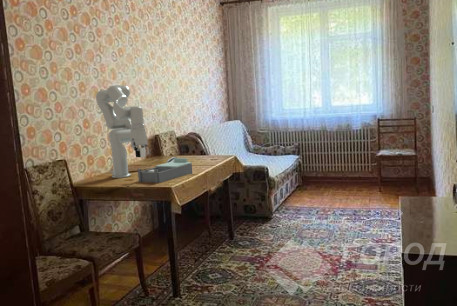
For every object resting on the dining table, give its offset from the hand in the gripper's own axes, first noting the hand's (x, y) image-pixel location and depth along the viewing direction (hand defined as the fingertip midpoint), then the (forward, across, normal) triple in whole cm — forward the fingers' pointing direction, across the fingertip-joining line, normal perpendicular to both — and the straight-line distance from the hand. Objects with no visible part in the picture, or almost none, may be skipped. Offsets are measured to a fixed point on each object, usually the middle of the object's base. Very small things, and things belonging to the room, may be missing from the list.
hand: (140, 156), depth 266 cm
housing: (+16, -12, +8) cm, 21 cm away
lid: (+9, -21, +8) cm, 24 cm away
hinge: (+16, -40, -10) cm, 44 cm away
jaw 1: (0, 0, 0) cm, 0 cm away
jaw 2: (+15, -4, +5) cm, 16 cm away
